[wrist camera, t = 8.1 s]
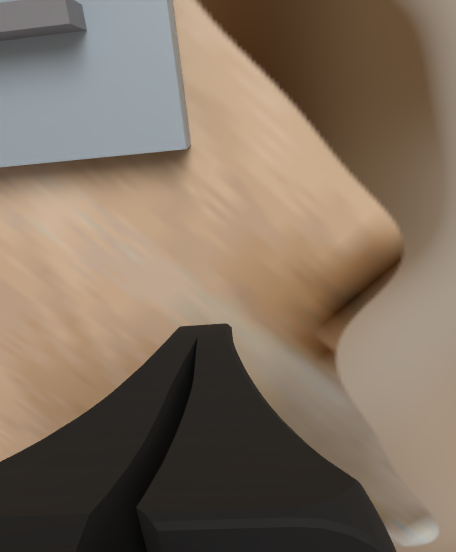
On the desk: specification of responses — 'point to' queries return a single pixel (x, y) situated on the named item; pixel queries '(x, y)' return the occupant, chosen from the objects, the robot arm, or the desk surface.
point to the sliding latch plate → (89, 80)
